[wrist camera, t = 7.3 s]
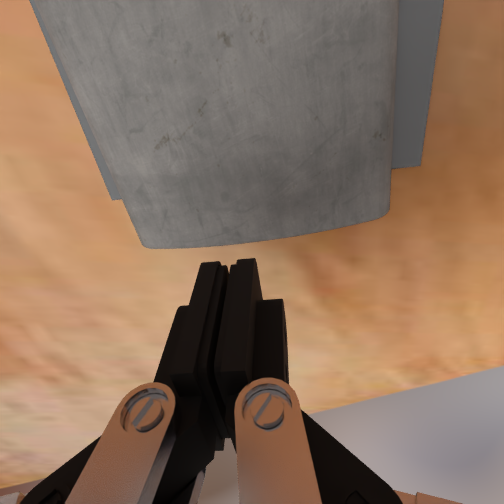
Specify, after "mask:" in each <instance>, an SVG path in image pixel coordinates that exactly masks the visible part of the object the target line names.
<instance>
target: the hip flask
mask: <svg viewBox="0 0 504 504" xmlns="http://www.w3.org/2000/svg"><path fill="white" fill-rule="evenodd" d="M34 1H35V4H36V6H37V8H38V10H39V13H40V15H41V17H42V20H43V22H44V24H45V26H46V29H47V31H48V33H49V35H50V38H51V40H52V42H53V44H54V47H55V49H56V51H57V53H58V56H59V58H60V60H61V62H62V65H63V67H64V69H65V71H66V74H67V76H68V78H69V81H70V83H71V85H72V87H73V90H74V92H75V94H76V96H77V99H78V101H79V103H80V105H81V108H82V110H83V112H84V114H85V117H86V119H87V121H88V123H89V126H90V128H91V130H92V132H93V135H94V137H95V139H96V142H97V144H98V146H99V148H100V151H101V153H102V155H103V157H104V160H105V162H106V164H107V166H108V169H109V171H110V173H111V175H112V178H113V180H114V182H115V184H116V187H117V189H118V191H119V194H120V196H121V198H122V200H123V203H124V205H125V207H126V209H127V212H128V214H129V216H130V218H131V221H132V223H133V225H134V227H135V230H136V232H137V234H138V236H139V239H140V241H141V243H142V245H143V246H144V247H146V248H150V249H174V248H197V247H211V246H223V245H233V244H242V243H250V242H258V241H266V240H273V239H280V238H287V237H293V236H299V235H305V234H311V233H316V232H322V231H327V230H332V229H337V228H341V227H346V226H350V225H355V224H359V223H363V222H367V221H372V220H375V219H378V218H380V217H383V216H384V215H385V214H387V212H388V211H389V209H390V187H391V166H392V144H393V123H394V101H395V80H396V58H397V37H398V15H399V0H34Z"/></svg>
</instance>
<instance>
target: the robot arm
mask: <svg viewBox="0 0 504 504" xmlns="http://www.w3.org/2000/svg"><path fill="white" fill-rule="evenodd" d="M230 437H231V440H232V443H233V445H234V448H235V451H236V454H237V468H238V486H239V504H462V503H458V502H454V501H450V500H446V499H442V498H438V497H434V496H430V495H426V494H422V493H419V492H417V493H416V496H415V495H411V494H408V493H403V492H399V491H396V490H393V489H392V488H391V487H390V486H389V485H388V484H387V483H386V482H385V481H384V480H382V479H381V478H380V477H379V476H378V475H377V474H375V473H374V472H373V471H372V470H371V469H370V468H368V467H367V466H366V465H365V464H364V463H363V462H361V461H360V460H359V459H358V458H357V457H356V456H355V455H353V454H352V453H351V452H350V451H349V450H348V449H346V448H345V447H344V446H343V445H342V444H341V443H339V442H338V441H337V440H336V439H335V438H334V437H332V436H331V435H330V434H329V433H328V432H327V431H326V430H324V429H323V428H322V427H321V426H320V425H319V424H317V423H316V422H315V421H314V420H313V419H312V418H310V417H309V416H308V415H307V414H306V413H305V412H304V411H302V410H301V409H300V404H299V400H298V398H297V395H296V393H295V391H294V390H293V389H292V388H291V386H290V385H289V373H288V348H287V330H286V319H285V311H284V303H283V299H272V300H263V298H262V292H261V286H260V280H259V274H258V269H257V263H256V259H255V258H250V259H239V260H237V263H236V264H235V265H231V267H230V273H229V272H228V268H227V266H226V265H223V266H221V263H220V262H219V261H216V262H204V263H201V265H200V268H199V272H198V275H197V279H196V282H195V286H194V289H193V292H192V296H191V299H190V303H189V305H187V306H180V307H179V308H178V309H177V312H176V314H175V318H174V321H173V324H172V327H171V330H170V333H169V336H168V339H167V342H166V345H165V348H164V351H163V354H162V357H161V360H160V364H159V367H158V370H157V373H156V376H155V379H154V382H153V383H147V384H143V385H140V386H138V387H137V388H135V389H133V390H132V391H130V392H129V393H128V394H127V395H126V396H125V397H124V398H123V399H122V401H121V402H120V404H119V405H118V406H117V408H116V410H115V412H114V414H113V416H112V417H111V419H110V421H109V423H108V425H107V427H106V428H105V430H104V432H103V434H102V435H101V436H100V437H99V438H98V439H96V440H95V441H94V442H92V443H91V444H90V445H88V446H87V447H86V448H85V449H83V450H82V451H81V452H79V453H78V454H77V455H75V456H74V457H73V458H72V459H70V460H69V461H68V462H66V463H65V464H64V465H62V466H61V467H60V468H59V469H57V470H56V471H55V472H53V473H52V474H51V475H49V476H48V477H47V478H46V479H44V480H43V481H42V482H40V483H39V484H38V485H37V486H35V487H34V488H33V489H32V490H31V491H30V492H29V493H28V494H22V493H21V492H16V493H13V494H9V495H6V496H2V497H0V504H197V503H198V499H199V496H200V492H201V489H202V485H203V482H204V478H205V472H206V466H207V465H208V464H209V463H210V462H211V461H212V460H213V459H214V453H215V451H223V450H224V441H225V438H230Z"/></svg>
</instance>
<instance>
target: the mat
mask: <svg viewBox="0 0 504 504" xmlns="http://www.w3.org/2000/svg"><path fill="white" fill-rule="evenodd" d="M29 1H30V3H31V5H32V8H33V10H34V13H35V15H36V18H37V20H38V22H39V25H40V27H41V30H42V32H43V34H44V37H45V39H46V42H47V44H48V47H49V49H50V51H51V54H52V56H53V59H54V61H55V63H56V66H57V68H58V71H59V73H60V76H61V78H62V80H63V83H64V85H65V88H66V90H67V92H68V95H69V97H70V100H71V102H72V105H73V107H74V109H75V112H76V114H77V117H78V119H79V121H80V124H81V126H82V129H83V131H84V134H85V136H86V138H87V141H88V143H89V146H90V148H91V150H92V153H93V155H94V158H95V160H96V163H97V165H98V167H99V170H100V172H101V175H102V177H103V179H104V182H105V184H106V187H107V189H108V192H109V194H110V196H111V199H112V200H119V199H122V198H121V196H120V194H119V191H118V189H117V187H116V184H115V182H114V180H113V178H112V175H111V173H110V171H109V169H108V166H107V164H106V162H105V160H104V157H103V155H102V153H101V151H100V148H99V146H98V144H97V142H96V139H95V137H94V135H93V132H92V130H91V128H90V126H89V123H88V121H87V119H86V117H85V114H84V112H83V110H82V108H81V105H80V103H79V101H78V99H77V96H76V94H75V92H74V90H73V87H72V85H71V83H70V81H69V78H68V76H67V74H66V71H65V69H64V67H63V65H62V62H61V60H60V58H59V56H58V53H57V51H56V49H55V47H54V44H53V42H52V40H51V38H50V35H49V33H48V31H47V29H46V26H45V24H44V22H43V20H42V17H41V15H40V13H39V10H38V8H37V6H36V4H35V1H34V0H29ZM443 5H444V0H399V15H398V37H397V58H396V80H395V101H394V123H393V144H392V166H391V169H396V168H405V167H414V166H420V165H421V158H422V151H423V144H424V137H425V130H426V123H427V116H428V109H429V102H430V95H431V88H432V81H433V74H434V67H435V60H436V53H437V46H438V39H439V33H440V26H441V19H442V12H443Z"/></svg>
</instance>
